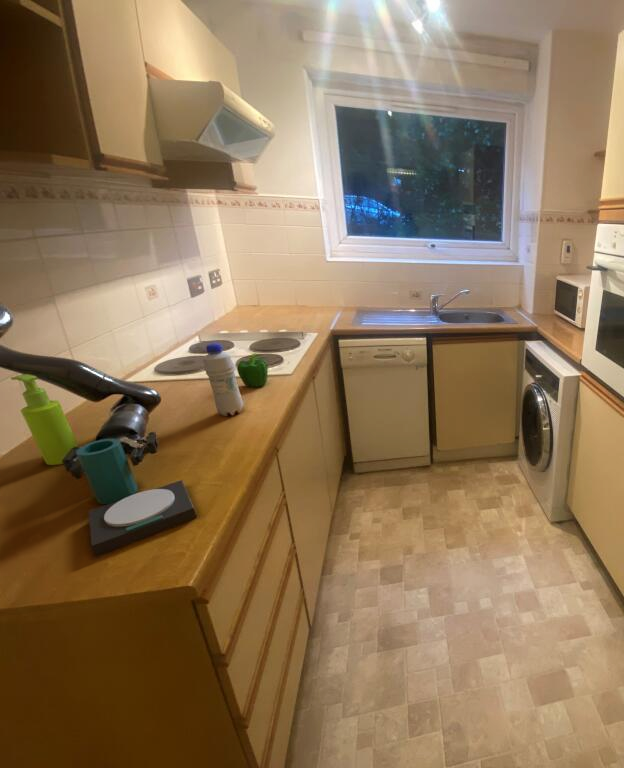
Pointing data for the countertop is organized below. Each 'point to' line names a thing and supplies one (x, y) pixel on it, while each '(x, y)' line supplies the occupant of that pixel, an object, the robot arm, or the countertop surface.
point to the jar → (107, 470)
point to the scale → (139, 516)
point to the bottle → (222, 380)
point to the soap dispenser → (46, 422)
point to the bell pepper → (253, 371)
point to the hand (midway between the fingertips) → (105, 467)
